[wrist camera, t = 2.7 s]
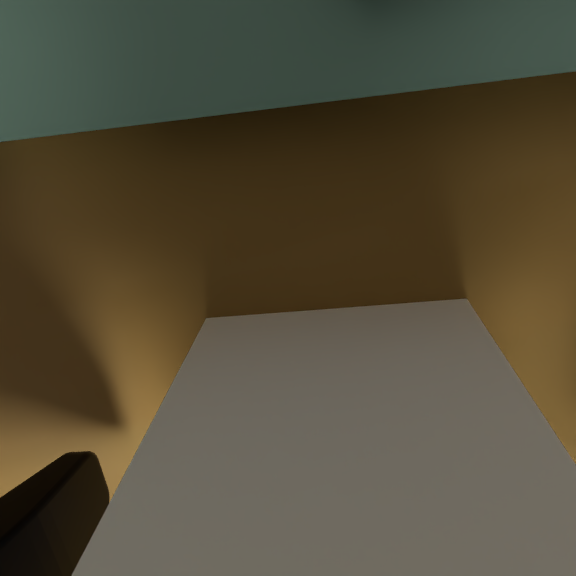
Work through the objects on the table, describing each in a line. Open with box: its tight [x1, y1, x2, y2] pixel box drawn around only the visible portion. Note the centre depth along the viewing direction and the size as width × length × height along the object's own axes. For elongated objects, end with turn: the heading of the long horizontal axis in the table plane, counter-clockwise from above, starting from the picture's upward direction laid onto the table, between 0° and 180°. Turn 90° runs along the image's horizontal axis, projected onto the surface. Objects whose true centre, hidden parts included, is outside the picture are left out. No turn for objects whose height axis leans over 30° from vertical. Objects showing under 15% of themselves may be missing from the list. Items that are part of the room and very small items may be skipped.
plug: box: [72, 299, 576, 576], centre depth 6 cm, size 4×4×6 cm
